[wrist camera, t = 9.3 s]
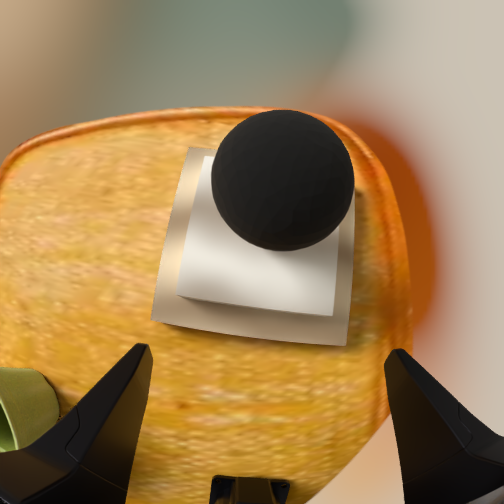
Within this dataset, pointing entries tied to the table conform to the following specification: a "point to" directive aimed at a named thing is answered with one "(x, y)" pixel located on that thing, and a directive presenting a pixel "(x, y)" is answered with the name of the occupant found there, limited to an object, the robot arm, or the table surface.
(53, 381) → the table surface
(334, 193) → the light bulb
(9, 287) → the table surface
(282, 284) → the stepped stand
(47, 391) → the plant pot
